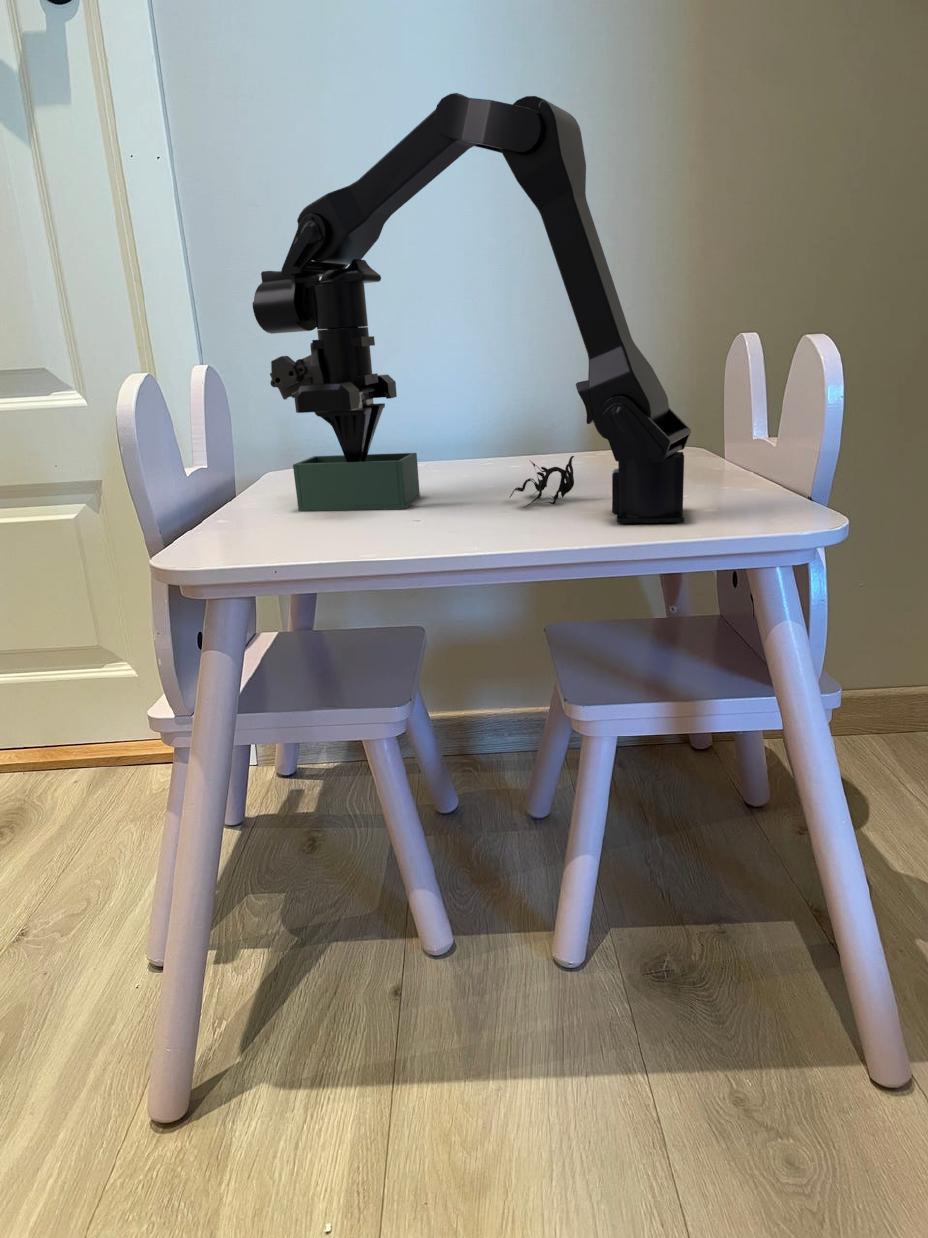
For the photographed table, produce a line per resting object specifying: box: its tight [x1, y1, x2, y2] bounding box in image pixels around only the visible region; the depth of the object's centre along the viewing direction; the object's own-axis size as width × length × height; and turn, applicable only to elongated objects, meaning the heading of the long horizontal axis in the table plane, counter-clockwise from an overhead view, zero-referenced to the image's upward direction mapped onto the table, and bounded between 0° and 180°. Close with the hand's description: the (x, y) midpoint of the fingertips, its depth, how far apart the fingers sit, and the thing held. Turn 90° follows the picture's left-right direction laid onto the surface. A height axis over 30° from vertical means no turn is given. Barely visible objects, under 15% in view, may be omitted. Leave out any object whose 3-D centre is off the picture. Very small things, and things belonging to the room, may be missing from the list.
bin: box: [292, 452, 421, 512], centre depth 99 cm, size 13×7×6 cm, turn 79°
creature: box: [508, 455, 575, 509], centre depth 94 cm, size 8×5×8 cm
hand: (356, 467), depth 98 cm, fingers closed
